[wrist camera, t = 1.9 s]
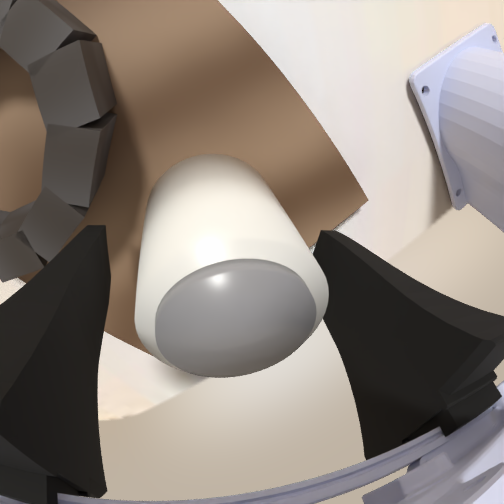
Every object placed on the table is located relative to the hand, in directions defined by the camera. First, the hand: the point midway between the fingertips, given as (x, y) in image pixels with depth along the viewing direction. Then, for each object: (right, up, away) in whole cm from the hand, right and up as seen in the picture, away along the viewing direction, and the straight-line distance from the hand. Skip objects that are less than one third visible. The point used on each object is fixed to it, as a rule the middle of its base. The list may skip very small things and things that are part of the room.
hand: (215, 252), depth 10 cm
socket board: (-5, +4, 0) cm, 6 cm away
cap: (0, +1, +2) cm, 3 cm away
